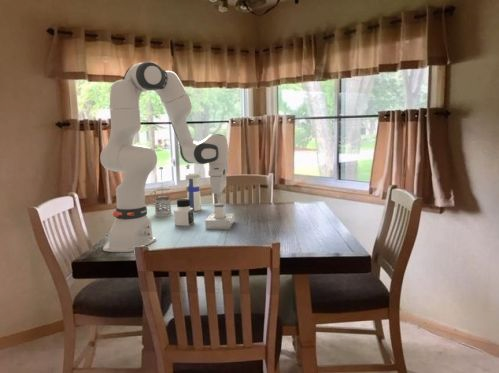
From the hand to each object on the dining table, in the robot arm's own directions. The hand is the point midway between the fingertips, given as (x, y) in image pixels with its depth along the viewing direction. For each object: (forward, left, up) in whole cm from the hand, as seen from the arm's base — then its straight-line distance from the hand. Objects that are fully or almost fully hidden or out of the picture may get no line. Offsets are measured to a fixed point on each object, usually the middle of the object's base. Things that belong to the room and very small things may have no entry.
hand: (219, 199), depth 189 cm
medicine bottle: (+2, +18, -12) cm, 22 cm away
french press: (+21, +35, -12) cm, 42 cm away
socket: (0, 0, -12) cm, 12 cm away
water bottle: (+34, +21, -12) cm, 42 cm away
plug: (0, 0, -11) cm, 11 cm away
